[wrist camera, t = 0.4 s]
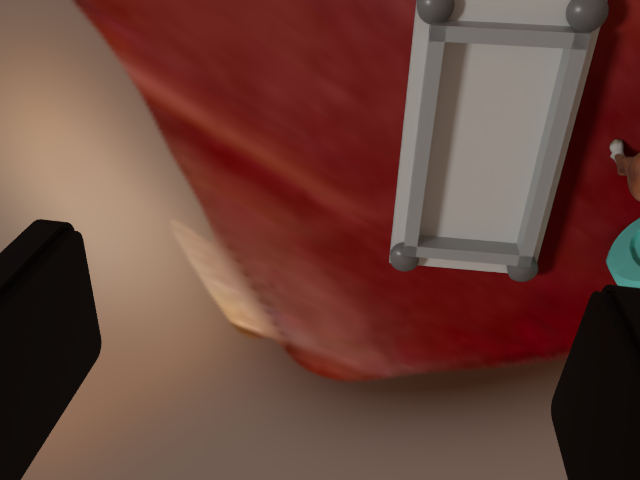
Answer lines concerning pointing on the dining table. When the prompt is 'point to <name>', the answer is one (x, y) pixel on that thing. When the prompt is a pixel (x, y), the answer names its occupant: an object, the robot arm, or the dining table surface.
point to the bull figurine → (627, 167)
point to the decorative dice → (626, 257)
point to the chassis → (488, 129)
